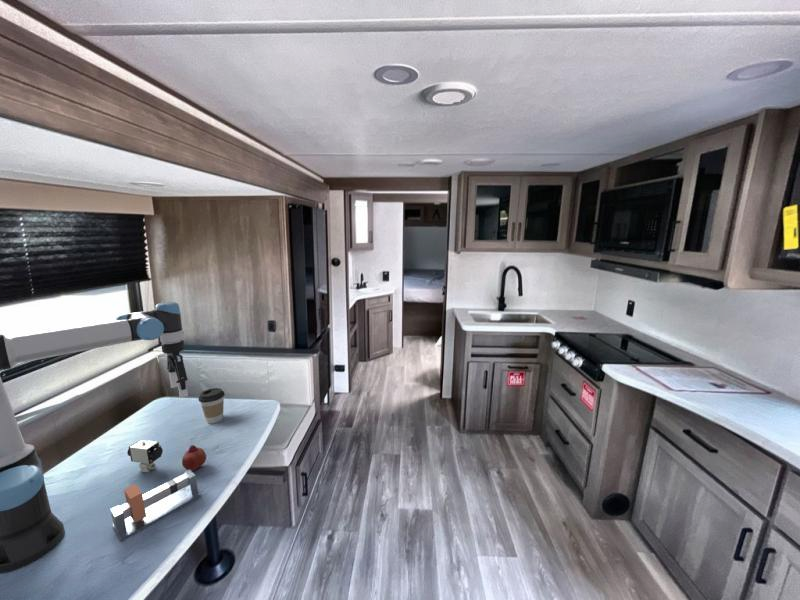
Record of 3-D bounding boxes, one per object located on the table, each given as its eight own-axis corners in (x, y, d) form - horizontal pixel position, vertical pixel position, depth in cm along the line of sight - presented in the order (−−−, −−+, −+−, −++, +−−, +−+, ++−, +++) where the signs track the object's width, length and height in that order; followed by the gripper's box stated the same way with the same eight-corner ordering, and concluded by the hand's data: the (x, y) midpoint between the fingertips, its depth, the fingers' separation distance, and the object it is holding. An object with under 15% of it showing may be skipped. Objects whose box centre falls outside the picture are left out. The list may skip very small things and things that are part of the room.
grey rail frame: (120, 542, 98) (116, 520, 97) (112, 526, 104) (108, 505, 102) (200, 496, 115) (198, 477, 114) (190, 485, 121) (187, 467, 120)
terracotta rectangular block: (134, 522, 102) (130, 498, 100) (128, 512, 106) (124, 489, 104) (146, 516, 104) (142, 492, 103) (140, 506, 108) (135, 483, 106)
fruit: (181, 478, 125) (177, 454, 123) (185, 465, 132) (182, 442, 130) (206, 472, 128) (202, 448, 126) (208, 459, 135) (205, 437, 133)
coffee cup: (212, 413, 172) (208, 386, 169) (232, 414, 170) (229, 387, 168) (196, 425, 161) (192, 396, 158) (217, 427, 159) (213, 397, 157)
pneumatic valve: (155, 475, 127) (150, 447, 125) (130, 471, 129) (125, 444, 127) (168, 465, 132) (163, 438, 130) (143, 462, 134) (138, 435, 132)
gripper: (192, 345, 126) (199, 397, 129) (175, 333, 143) (181, 380, 146) (169, 350, 120) (176, 404, 124) (154, 337, 138) (161, 385, 141)
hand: (179, 391), depth 135 cm, fingers open, 13 cm apart
